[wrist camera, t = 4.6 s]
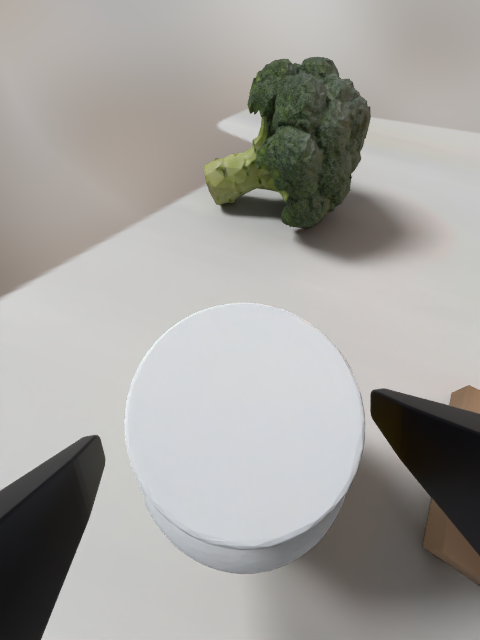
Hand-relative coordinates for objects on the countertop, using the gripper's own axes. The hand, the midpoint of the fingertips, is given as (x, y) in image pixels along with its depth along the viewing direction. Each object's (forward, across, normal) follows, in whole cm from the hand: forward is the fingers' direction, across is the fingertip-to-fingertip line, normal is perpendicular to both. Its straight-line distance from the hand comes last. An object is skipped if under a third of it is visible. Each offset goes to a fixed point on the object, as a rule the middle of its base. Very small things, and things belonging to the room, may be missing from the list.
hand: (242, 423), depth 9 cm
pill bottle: (+5, 0, +6) cm, 8 cm away
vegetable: (+22, -7, -10) cm, 25 cm away
